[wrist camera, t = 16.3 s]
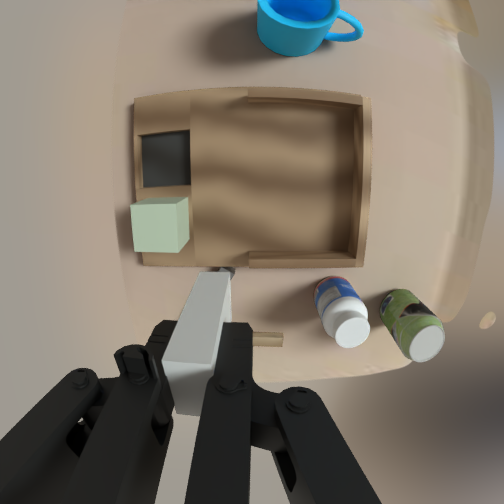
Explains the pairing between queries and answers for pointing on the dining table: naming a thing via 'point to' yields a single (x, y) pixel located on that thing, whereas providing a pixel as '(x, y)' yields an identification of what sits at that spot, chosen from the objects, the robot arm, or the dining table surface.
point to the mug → (301, 25)
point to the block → (160, 224)
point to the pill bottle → (341, 312)
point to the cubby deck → (259, 174)
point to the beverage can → (412, 325)
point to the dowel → (267, 339)
